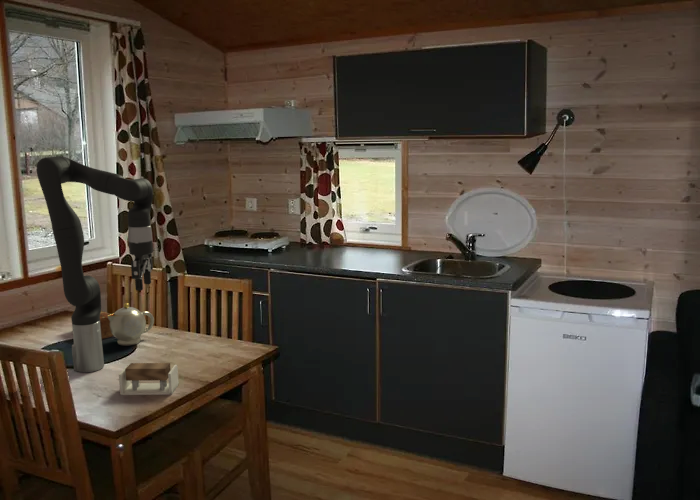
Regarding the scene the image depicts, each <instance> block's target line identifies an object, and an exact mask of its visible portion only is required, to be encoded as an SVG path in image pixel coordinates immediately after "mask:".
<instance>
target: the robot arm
mask: <svg viewBox="0 0 700 500" xmlns="http://www.w3.org/2000/svg"><path fill="white" fill-rule="evenodd" d="M36 175H37V179H38V180H37V181H38V183H39V185H40V188H41V191H42V195H43V197H44V200H45V204H46V207H47V211H48V215H49V219H50V223H51V228H52V234H53V238H54V242H55V245H56V246H55V247H56V250H57V253H58V259H59V263H60V268H61V269H60V270H61V275H62V276H61V277H62V278H61V279H62V285H63V286H62V287H63V293H64V297H65V299H66V301H67V302H68V304H70V305H72V306H73V307H75V308H74V310H73V313H72V315H71V317H70V321H71V328H72V336H73V344H72V345H71V354H72V363H73V371H74V372H79V373H91V372H96V371H99V370H101V369H103V368H104V367H105V361H104V360H105V359H104V349H103V339H102V337H101V326H100V313H101V311H102V297H101V296H102V294H101V287H100V284H99V282H98V280H97V279H96V278H95V277H94V276H91V275H84V270H83V255H84V246H85V236H84V230H83V225H82V222H81V219H80V217H79V216H78V214H77V213H76V212H75V210H74V209H73V208H72V207H71V205H70V204H69V203H68V201H67V199H66V197H65V195H64V191H63V187H62V184H66V183H80V184H84V185H86V186H88V187H90V188H91V189H93V190H95V191H98V192H100V193H103V194H108V195H112V196H115V197H117V198H119V199H121V200H124V201H127V202H133V206H132V207H131V208H130V209H128V211H127V226H128V232H127V236H128V252H129V254H130V255H131V256H134V260H131V261H130V266H131V267H130V270H131V272H130V273H131V279H132V280H134V284H135V291H137V292H138V291H143V290H144V285H143V284H145V285H151V283H152V275H151V273H152V271H153V269H154V264H153V252H154V246H153V245H154V244H153V231H152V227H151V223H152V222H151V209H152V204H153V200H154V199H153V197H154V188H153V186H152V184H151V182H150V181H149V180H148V179H147V178H135V179H129V178H128V179H127V178H125V177H124V176H123V175H121V174H119V173H113V172H109V171H105V170H102V169H96V168H93V167H90V166H88V165H84V164H82V163H80V162H77V161H76V160H74V159H71V158H68V157H66V156H63V155H62V156H60V155H57V156H49V157H48V156H47V157H42V158H40V160H38V162H37V164H36Z"/></svg>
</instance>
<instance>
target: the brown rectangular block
mask: <svg viewBox="0 0 700 500" xmlns="http://www.w3.org/2000/svg"><path fill="white" fill-rule="evenodd" d="M128 365H129V366H128V367H127V368H126V369H125V372H126V381H131V382H132V381H139V382H140V381H142V382H143V381H147V382H148V381H160V380H169V379H168V373H169V372H170V371H171V369H172V368H171V362H131V363H129V364H128Z"/></svg>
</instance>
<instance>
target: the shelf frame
mask: <svg viewBox="0 0 700 500" xmlns="http://www.w3.org/2000/svg"><path fill="white" fill-rule="evenodd" d="M129 365H130V364H128V365H126V366H125V367H124V368H123V369H122V370H121V371H120V372H119V374H118V382H119V393H120V396H145V395H146V396H149V395H151V396H154V395H158V396H159V395H162V396H163V395H173V393H174V392H175V391H176V389H177V388H178V386H179V384H180V383H179V372H178V371H179V369H178V364H174V365H173V367H172V368H170V369H171V371H170V372H169V373H168V379H167V380H168V381H167V380H159V382H145V383H144V382H142V383H140V381H126V372H125V369H126V368H127V367H128V366H129Z"/></svg>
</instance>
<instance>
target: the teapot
mask: <svg viewBox="0 0 700 500" xmlns="http://www.w3.org/2000/svg"><path fill="white" fill-rule="evenodd" d="M109 314H110V315H108V319H109V320H110V330H111V332H112V334H113V335H114V336H113V337H115V339H117V341H116V342H117V345H120V346H123V347H124V346H125V347H128V346H134V345H137V344H139V343H140V342H141V341H142V337H141V336H142V335H143V334H145V333H148V332H149V331H150V330H151V329H152V328H153V326H154V323H155V318H154V316H153V314H152V313H151V312H150V311H144V310H143V311H140V310H139V309H138V308H136V307H132V306H130V303H128V302H125V303H123V307H122V308H119V309H117V310H116V311H115V312H113V313H109ZM145 316H147V317H149V324H148V325H147V321H146V317H145ZM146 326H147V327H146Z"/></svg>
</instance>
